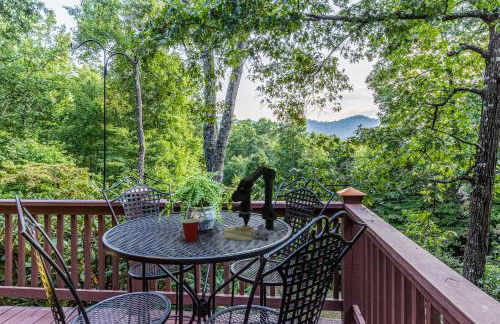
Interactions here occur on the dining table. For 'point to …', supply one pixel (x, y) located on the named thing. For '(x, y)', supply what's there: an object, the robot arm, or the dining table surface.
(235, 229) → the grey plug
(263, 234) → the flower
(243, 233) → the press panel
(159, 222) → the dining table surface
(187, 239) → the plastic cup
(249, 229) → the terracotta plug
